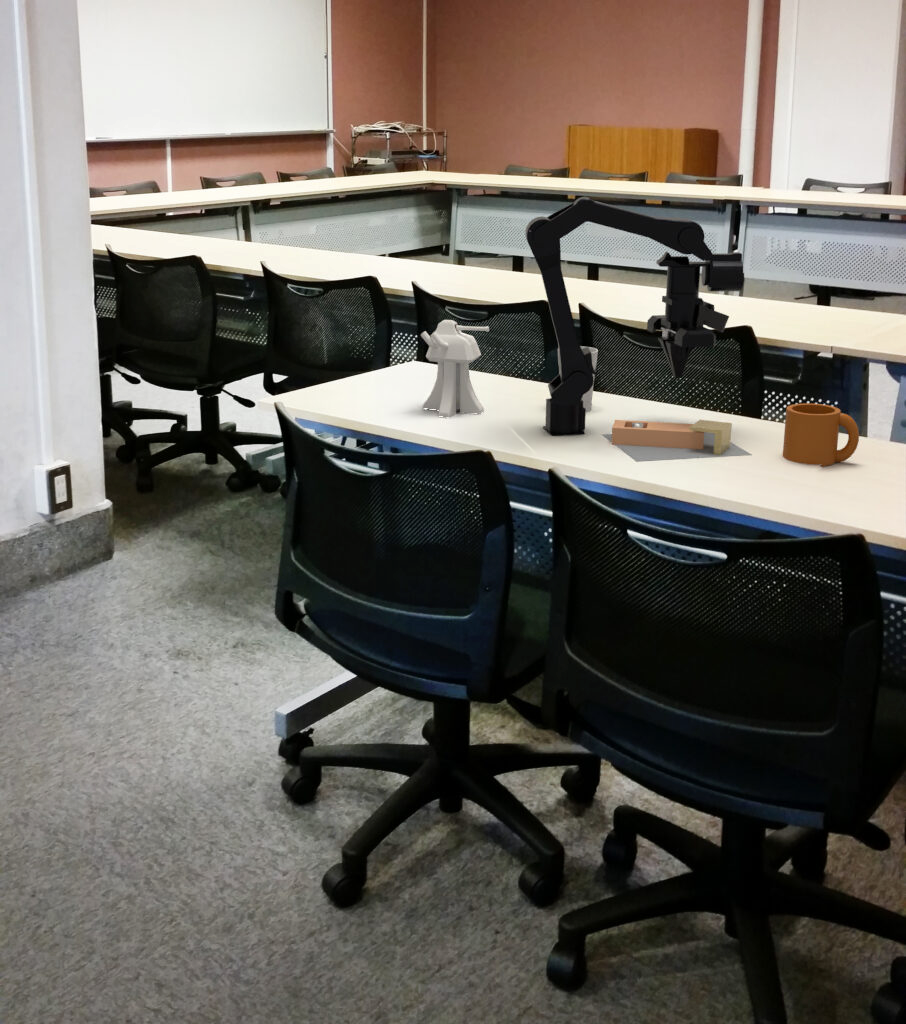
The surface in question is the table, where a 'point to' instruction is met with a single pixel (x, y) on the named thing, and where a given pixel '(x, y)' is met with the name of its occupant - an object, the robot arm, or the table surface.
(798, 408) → the mug
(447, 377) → the white mech figurine
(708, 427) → the keeper
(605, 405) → the table surface
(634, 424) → the cylinder
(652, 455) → the mat
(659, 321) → the robot arm
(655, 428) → the link
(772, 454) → the table surface
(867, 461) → the table surface
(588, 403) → the cup
